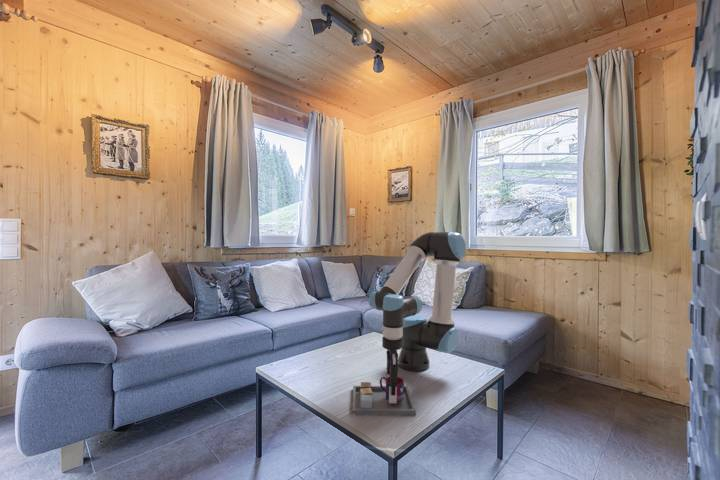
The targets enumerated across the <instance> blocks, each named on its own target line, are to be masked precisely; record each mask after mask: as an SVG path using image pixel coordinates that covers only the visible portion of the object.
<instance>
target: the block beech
mask: <svg viewBox="0 0 720 480" xmlns="http://www.w3.org/2000/svg"><path fill="white" fill-rule="evenodd" d="M362 395H373V392H372V390H371V388H363V389H360V400H361V397H362Z"/></svg>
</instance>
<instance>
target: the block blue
mask: <svg viewBox="0 0 720 480" xmlns="http://www.w3.org/2000/svg"><path fill="white" fill-rule="evenodd" d="M372 407H373V395H362V397H361V409H372Z"/></svg>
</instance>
